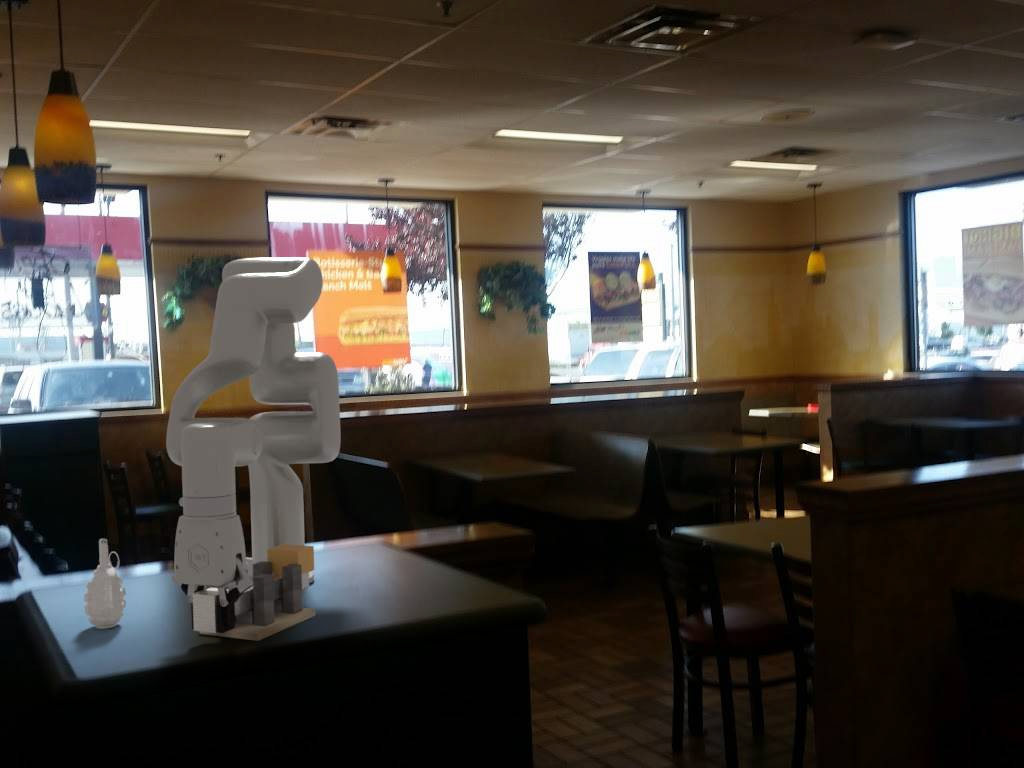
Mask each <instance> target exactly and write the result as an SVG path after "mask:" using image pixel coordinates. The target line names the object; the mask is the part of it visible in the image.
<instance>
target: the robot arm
mask: <svg viewBox="0 0 1024 768" xmlns="http://www.w3.org/2000/svg"><path fill="white" fill-rule="evenodd" d="M221 278H222V282H221V283H220V285H219V288H218V291H217V295H216V296H217V297H216V304H215V310H214V317H213V322H212V323H213V324H212V329H211V336H210V338H211V339H210V342H209V344H210V345H209V349H208V350H209V352H208V354H207V357H206V358H205V359H204V360H202V361H201V362H200V363H199V364H198V365H197V366H195V368H194V369H192V370H191V372H189V374H188V375H187V376H186V377H185V378H184V380H183V381H182V382H181V384H180V385H179V387H178V388H177V390H176V392H175V393H174V396H173V398H172V401H171V406H170V411H169V417H168V422H167V429H166V441H165V442H166V443H165V446H166V452H167V454H168V457H169V459H170V460H171V462H173V463H174V464H175V465H177V466H180V467H181V482H182V484H181V485H182V497H180V498H179V500H178V504H179V506H180V507H182V509H183V510H182V511H183V512H182V513H183V514H182V515H180V516H179V517H178V521H177V527H176V531H175V532H176V533H175V540H174V559H173V560H174V568H173V569H174V573H173V575H172V581H173V582H174V583H175V584H176V585H177V586H178V587H179V588H181V590H182V592H183V593H184V594H185V596H186V601H187V603H190V610H191V611H190V612H191V629H192V631H194V621H193V593H196V592H199V591H202V590H205V589H208V587H209V588H210V587H211V588H218V594H219V599H220V604H221V605H220V606H218V608H217V618H218V632H219V633H225V632H227V631H229V630H232V629H234V628H235V602H237V601H238V600H239V597H240V596H241V595H242V594H243V593H244V592H245V591H246V590H248V589H249V588H250V587H252V586H253V564H255V563H258V562H261V561H265V562H268V560H267V549H269V548H272V547H275V546H279V545H282V544H291V545H304V546H306V544H305V540H306V539H305V512H304V511H305V510H304V509H305V508H304V507H305V506H304V504H305V503H304V488H303V483H302V482H301V479H300V478H299V476H298V475H297V474H296V473H295V471H294V470H293V468H292V467H291V466H290V465H294V464H324V463H330V462H333V461H334V460H335V459H336V458H338V455H339V454H340V451H341V450H340V449H341V442H342V441H341V439H342V438H341V436H342V435H341V414H340V413H341V412H340V389H339V384H340V383H339V374H338V370H337V369H338V368H337V366H336V363H335V361H334V359H333V358H332V356H331V355H329V354H327V353H324V352H321V351H320V352H319V351H306V352H305V351H302V352H301V351H300V352H298V350H297V348H296V335H295V334H296V333H295V332H296V329H295V325H294V324H297V323H300V322H302V321H304V320H305V319H306V318H307V317H308V315H309V314H310V313H311V311H312V309H313V308H314V307H315V306H316V304H317V303H318V301H319V300H320V297H321V294H322V291H323V282H324V280H323V274H322V270H321V268H320V265H319V264H318V263H317V262H316V261H315V259H313V258H310V257H304V256H303V257H302V256H301V257H300V256H297V257H296V256H293V257H292V256H291V257H290V256H289V257H246V258H238V259H234V260H231V261H230V262H227V263H226V264H225V265H224V267H223V268H222V272H221ZM247 377H248V380H249V389H250V393H251V394H250V395H251V396H252V398H253V399H254V400H255V401H256V402H258V403H260V404H263V405H309V406H310V408H312V411H267V412H260V413H257V414H254V415H253V416H251V417H249V418H246V417H196V413H197V412H198V409H199V408H200V406H201V405H202V404H203V402H204V401H205V400H207V399H208V398H209V397H210V396H212V395H213V394H214V393H216V392H218V391H220V390H222V389H223V388H226V387H229V386H230V385H232V384H234V383H236V382H239V381H241V380H244V379H245V378H247ZM245 466H246V467H247V466H248V474H249V490H250V492H249V493H250V523H251V524H250V525H251V529H250V530H251V557H248V556H246V555H247V554H246V544H245V537H244V531H243V530H244V529H243V526H242V521H241V517H240V515H238V514H237V497H236V496H237V495H236V494H237V492H236V467H245ZM272 575H274V574H272ZM314 580H315V574H314V572H313V571H310V572H309V584H311V583H312V582H314ZM235 581H238V582H239V583H238V585H237V586H236V582H235ZM227 587H228V592H229V593H228V594H227Z"/></svg>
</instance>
